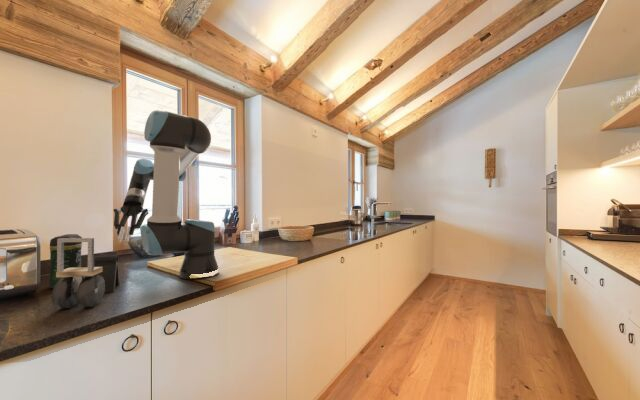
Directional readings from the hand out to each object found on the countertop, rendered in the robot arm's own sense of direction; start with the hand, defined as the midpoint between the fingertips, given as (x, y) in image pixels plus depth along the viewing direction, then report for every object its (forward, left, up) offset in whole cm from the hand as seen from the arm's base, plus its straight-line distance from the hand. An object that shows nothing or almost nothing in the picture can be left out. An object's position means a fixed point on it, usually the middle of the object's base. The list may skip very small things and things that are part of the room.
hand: (123, 240), depth 112 cm
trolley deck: (-4, +33, -5) cm, 34 cm away
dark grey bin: (-3, +17, -15) cm, 23 cm away
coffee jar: (+14, +10, -15) cm, 23 cm away
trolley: (-4, +33, -15) cm, 36 cm away
